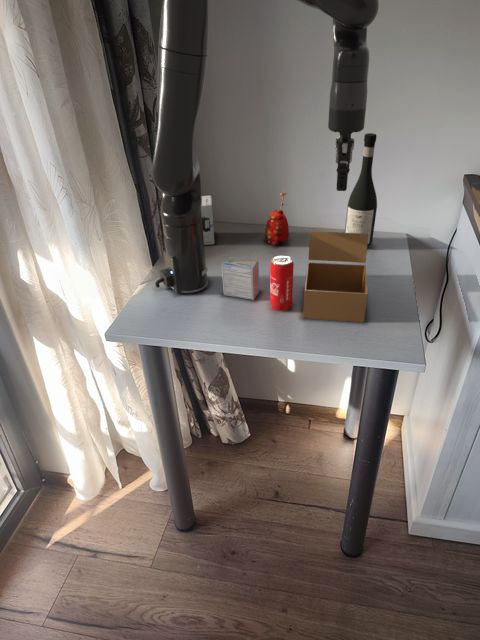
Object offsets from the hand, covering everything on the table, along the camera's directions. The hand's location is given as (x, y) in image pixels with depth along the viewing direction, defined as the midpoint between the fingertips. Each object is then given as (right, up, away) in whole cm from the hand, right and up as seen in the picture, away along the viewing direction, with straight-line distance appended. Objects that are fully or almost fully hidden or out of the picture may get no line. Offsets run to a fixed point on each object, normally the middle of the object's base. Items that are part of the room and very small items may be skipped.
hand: (341, 184), depth 108 cm
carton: (-1, -27, +5) cm, 27 cm away
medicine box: (-23, -24, +10) cm, 35 cm away
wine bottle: (+10, -7, +32) cm, 34 cm away
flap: (0, -13, +5) cm, 14 cm away
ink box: (-35, -4, +36) cm, 50 cm away
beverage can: (-14, -27, +5) cm, 31 cm away
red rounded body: (-14, -5, +34) cm, 37 cm away
